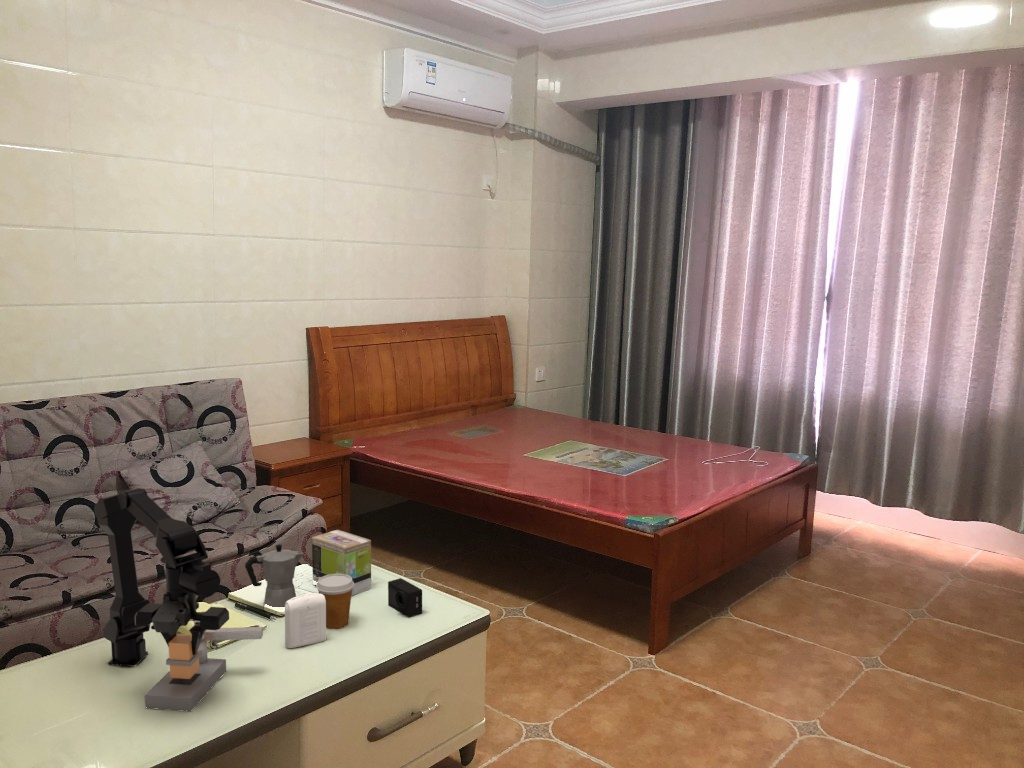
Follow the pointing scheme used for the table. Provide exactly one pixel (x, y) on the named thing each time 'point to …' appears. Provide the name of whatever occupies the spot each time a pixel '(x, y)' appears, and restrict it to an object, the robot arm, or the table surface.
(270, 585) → the coffeepot
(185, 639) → the plug
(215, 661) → the socket block
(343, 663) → the table surface
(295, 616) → the white rounded block
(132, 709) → the table surface
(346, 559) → the tea box
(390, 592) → the digital camera
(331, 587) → the disposable coffee cup
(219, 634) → the retention bar
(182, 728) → the table surface
